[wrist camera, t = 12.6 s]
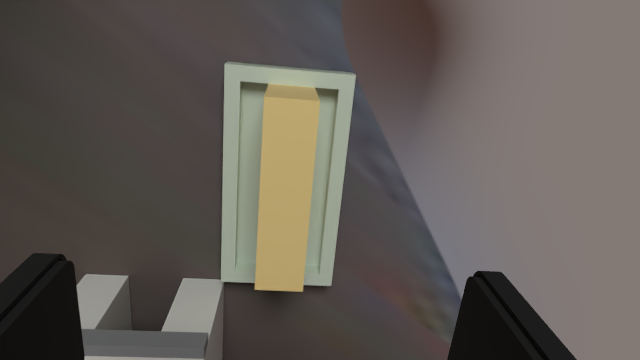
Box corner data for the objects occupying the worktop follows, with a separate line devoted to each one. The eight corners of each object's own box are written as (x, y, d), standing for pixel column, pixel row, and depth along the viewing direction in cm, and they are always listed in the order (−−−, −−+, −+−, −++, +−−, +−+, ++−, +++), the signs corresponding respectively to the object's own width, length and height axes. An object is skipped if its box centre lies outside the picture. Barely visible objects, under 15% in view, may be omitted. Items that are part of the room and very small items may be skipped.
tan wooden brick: (269, 81, 29) (264, 96, 23) (313, 85, 29) (320, 101, 23) (261, 240, 33) (254, 289, 27) (300, 242, 33) (302, 291, 27)
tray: (228, 61, 29) (224, 63, 27) (352, 72, 30) (355, 75, 28) (224, 268, 34) (220, 281, 33) (329, 273, 35) (331, 286, 33)
